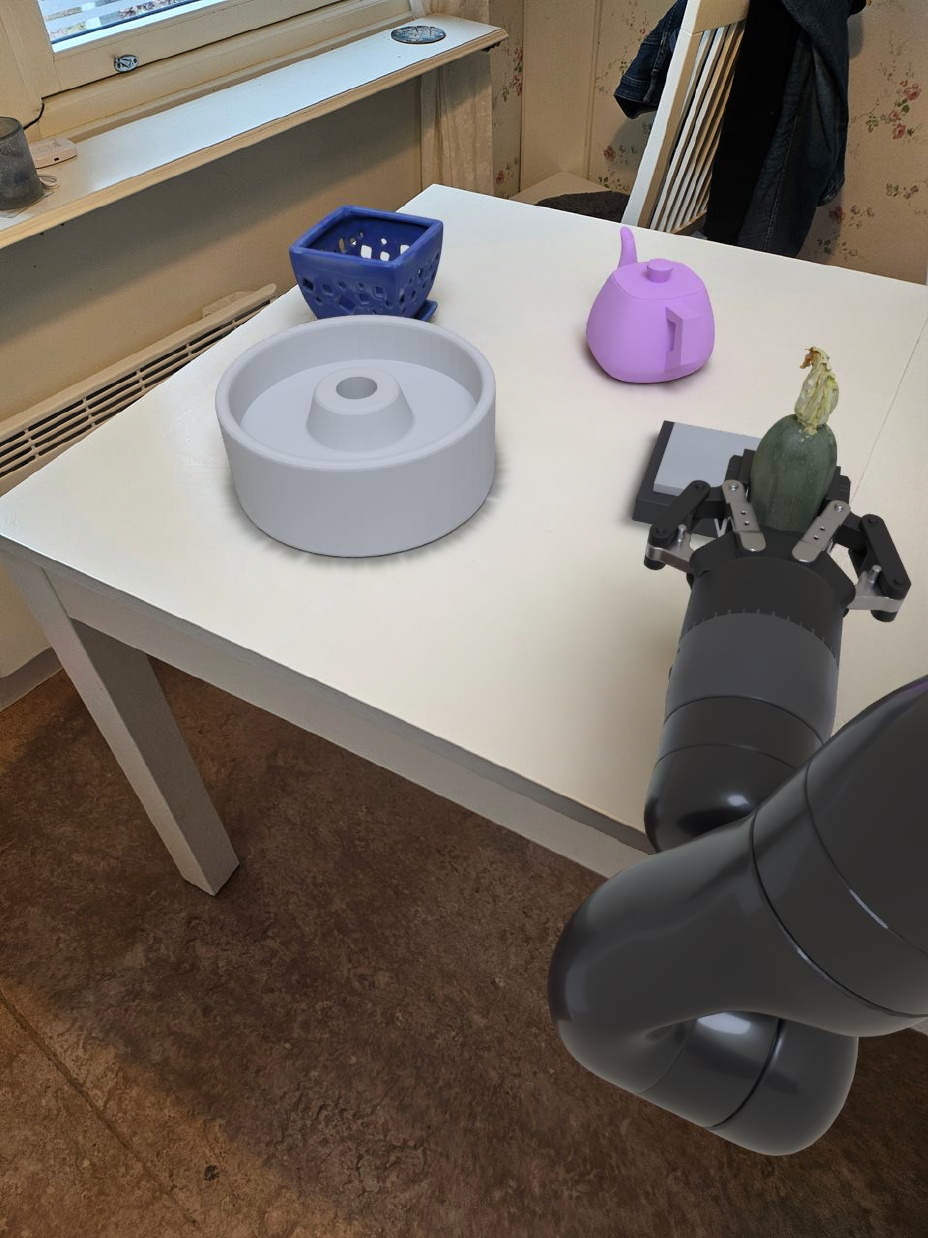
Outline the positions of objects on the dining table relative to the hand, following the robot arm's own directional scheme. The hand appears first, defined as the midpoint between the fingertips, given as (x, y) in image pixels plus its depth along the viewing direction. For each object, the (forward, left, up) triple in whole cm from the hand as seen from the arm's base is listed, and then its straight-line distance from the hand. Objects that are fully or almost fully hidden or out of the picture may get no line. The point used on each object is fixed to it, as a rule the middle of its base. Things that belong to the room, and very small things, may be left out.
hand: (787, 469), depth 53 cm
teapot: (+15, -44, -20) cm, 51 cm away
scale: (+3, -22, -20) cm, 30 cm away
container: (+36, -14, -20) cm, 44 cm away
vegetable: (0, +3, -11) cm, 12 cm away
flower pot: (+46, -39, -20) cm, 64 cm away
